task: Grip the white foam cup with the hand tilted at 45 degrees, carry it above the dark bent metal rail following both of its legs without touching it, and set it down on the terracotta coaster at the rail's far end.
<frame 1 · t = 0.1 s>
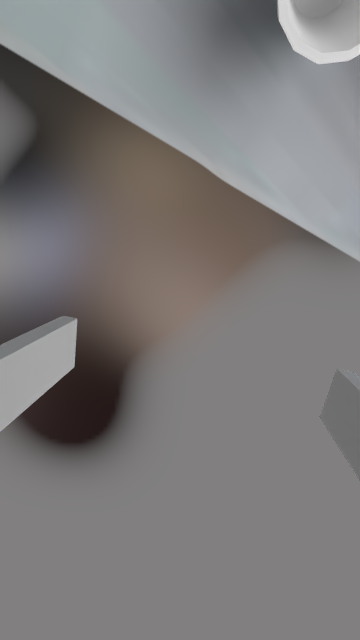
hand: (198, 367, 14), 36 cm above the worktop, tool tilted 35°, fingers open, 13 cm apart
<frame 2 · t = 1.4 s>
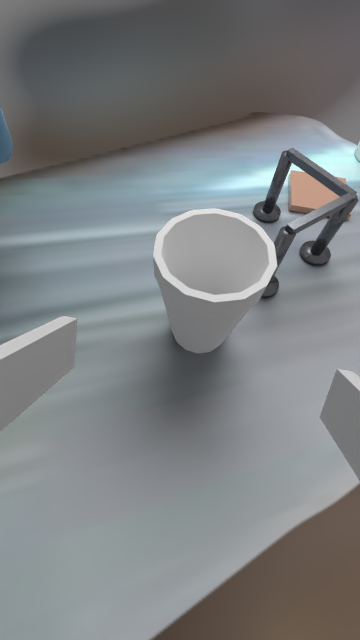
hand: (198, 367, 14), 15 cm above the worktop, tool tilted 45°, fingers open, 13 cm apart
coaster: (316, 196, 45), on the worktop
foam cup: (198, 329, 33), on the worktop
bent rail: (285, 249, 39), on the worktop
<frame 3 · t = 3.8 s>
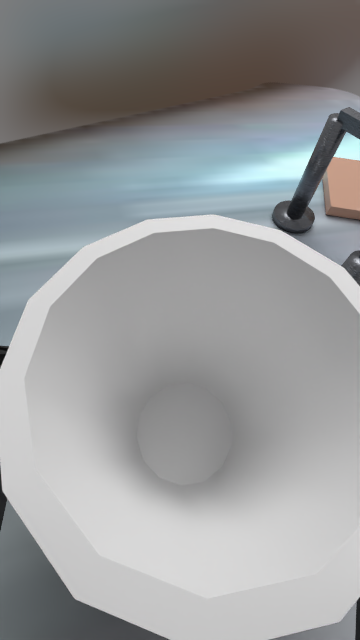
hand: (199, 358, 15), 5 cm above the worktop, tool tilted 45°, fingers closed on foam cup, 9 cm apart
foam cup: (184, 431, 18), on the worktop, touching gripper
bent rail: (326, 277, 24), on the worktop
when the fingers open (7 cm above the worktop, at t = 12.9 s): foam cup drops 1 cm, resting on coaster.
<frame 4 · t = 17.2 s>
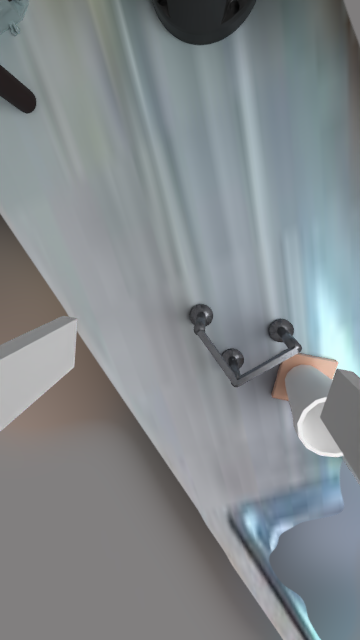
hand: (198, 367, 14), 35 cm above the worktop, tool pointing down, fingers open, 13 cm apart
coaster: (302, 378, 50), on the worktop
foam cup: (302, 380, 49), point 1 cm above the worktop, touching coaster
bent rail: (237, 338, 49), on the worktop
bottle: (359, 446, 52), on the worktop
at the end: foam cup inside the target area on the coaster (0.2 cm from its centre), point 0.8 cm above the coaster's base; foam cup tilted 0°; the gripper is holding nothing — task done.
